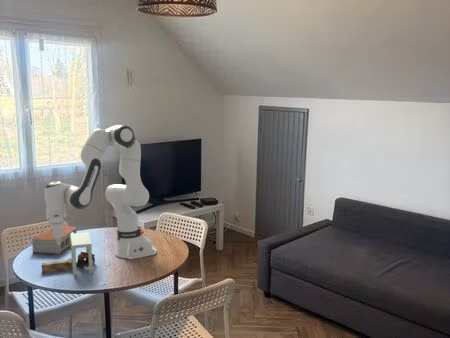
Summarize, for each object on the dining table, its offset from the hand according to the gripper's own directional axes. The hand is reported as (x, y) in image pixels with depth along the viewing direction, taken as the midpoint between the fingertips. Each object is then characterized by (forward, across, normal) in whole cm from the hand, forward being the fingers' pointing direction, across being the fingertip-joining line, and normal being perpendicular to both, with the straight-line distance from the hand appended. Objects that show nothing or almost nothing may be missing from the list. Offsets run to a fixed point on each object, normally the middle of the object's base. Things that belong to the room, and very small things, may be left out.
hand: (58, 241), depth 211 cm
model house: (+17, -34, -2) cm, 38 cm away
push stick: (+15, +1, -2) cm, 15 cm away
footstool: (+16, +1, +10) cm, 18 cm away
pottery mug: (+17, +2, +11) cm, 20 cm away
